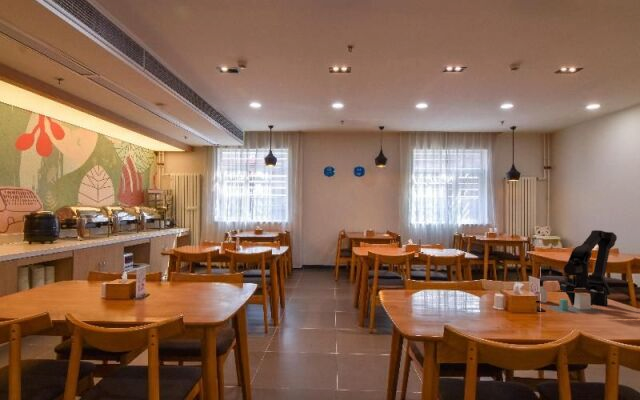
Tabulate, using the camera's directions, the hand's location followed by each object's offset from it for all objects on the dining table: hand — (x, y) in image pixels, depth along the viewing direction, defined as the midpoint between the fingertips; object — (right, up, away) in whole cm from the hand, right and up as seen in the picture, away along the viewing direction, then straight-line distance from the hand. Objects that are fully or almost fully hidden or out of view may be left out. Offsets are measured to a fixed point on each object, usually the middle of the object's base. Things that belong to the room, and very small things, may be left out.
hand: (582, 305), depth 201 cm
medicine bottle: (-14, -3, +16) cm, 21 cm away
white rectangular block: (0, -1, 0) cm, 1 cm away
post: (-12, -2, -5) cm, 13 cm away
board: (-6, -2, -3) cm, 7 cm away
